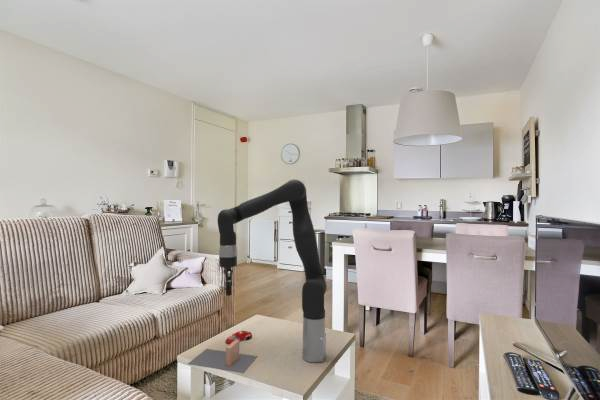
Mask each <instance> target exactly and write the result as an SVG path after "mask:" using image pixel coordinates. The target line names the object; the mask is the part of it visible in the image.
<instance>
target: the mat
mask: <svg viewBox="0 0 600 400" xmlns="http://www.w3.org/2000/svg"><path fill="white" fill-rule="evenodd" d="M258 357H259V356H258V355H250V354H243V353H239V358H238V359H237V360H236V361H235V362H234V363H233V364H232V365H231V366H226V350H225V351H224V350H219V349H218V350H217V349H211V348H210V349H209V348H205V349H204V350H203V351H201V353H199V354H198V355H197V356H196V357H194V358H193V359H191V361H189V362H188V363H187V365H190V366H191V365H192V366H196V367H203V368H209V369H217V370H221V371H226V372H228V371H229V372H232V373H233V372H234V373H241V374H244V373H245V372H246V371H247V370H248V369H249V367H251V366H252V364H253V363H254V362H255V361H256V359H257V358H258Z"/></svg>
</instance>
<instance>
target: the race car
mask: <svg viewBox="0 0 600 400" xmlns="http://www.w3.org/2000/svg"><path fill="white" fill-rule="evenodd" d="M252 338H253V334H252V332H251V331H249V330H239V331H236V332H235V333H232V334H231V335H230V336H229V337H227V338H226V339H225V344H226V345H230V344H231V343H232V342H233V341H235V340H239V343H240V342H243V341H249V340H251V339H252Z"/></svg>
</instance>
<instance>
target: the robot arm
mask: <svg viewBox="0 0 600 400" xmlns="http://www.w3.org/2000/svg"><path fill="white" fill-rule="evenodd" d="M283 203H288V204H289V207H290V211H291V215H292V218H291V219H292V235H293V240H294V241H293V242H294V246H295V249H296V252H297V254H298V256H299V259H300V261H301V263H302V266H303V269H304V270H303V271H304V275H305V282H304V283H303V285H302V289H301V309H302V359H303V360H304V361H305V362H309V363H320V362H321V363H323V362H324V361H325V358H326V356H327V355H326V352H327V346H326V345H327V344H326V343H327V333H326V310H325V294H326V292H327V287H328V286H327V282H326V280H325V276H324V273H323V270H322V266H321V262H320V255H319V248H318V243H317V237H316V233H315V229H314V224H313V221H312V218H311V215H310V213H309V212H310V211H309V207H308V197H307V187H306V186H305V184H304V183H303V182H302V181H300V179H290V180H288V181H286V182H285V183H283V184H282V185H280V186H279V187H277V188H275V189H273V190H272V191H269V192H267V193H264V194H262V195H259V196H257V197H254V198H251V199H248V200H246V201H244V202H242V203H240V204H238V205H237V206H234V207H231V208H229V209H225V208H224V209H222V210H221V211H220V212H219V213H218V214H217V227H218V233H219V249H218V253H219V254H218V259H219V260H218V261H219V262H218V266H219V267H220V268H224V269H223V280H224V285H225V286H224V290H225V295H226V297H229V296H232V287H233V280H234V279H233V275H234V271H233V269H232V268H234V267H237V266H238V249H237V248H238V247H237V233H236V232H235V230H234V225H236V224H238V223H239V222H241V221H244V220H246V219H249V218H251V217H254V216H257V215H259V214H261V213H264V212H265V211H267V210H269V209H271V208H273V207H276V206H277V205H281V204H283Z"/></svg>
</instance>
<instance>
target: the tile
mask: <svg viewBox="0 0 600 400" xmlns="http://www.w3.org/2000/svg"><path fill="white" fill-rule="evenodd" d="M225 352H226V366H231V365H232V364H233V363H234V362H235V361H236V360H237V359H238V358H239V354H240V342H239V340H235V341H233V342H232V343H231V344H228V345H227V347H226V348H225Z"/></svg>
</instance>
